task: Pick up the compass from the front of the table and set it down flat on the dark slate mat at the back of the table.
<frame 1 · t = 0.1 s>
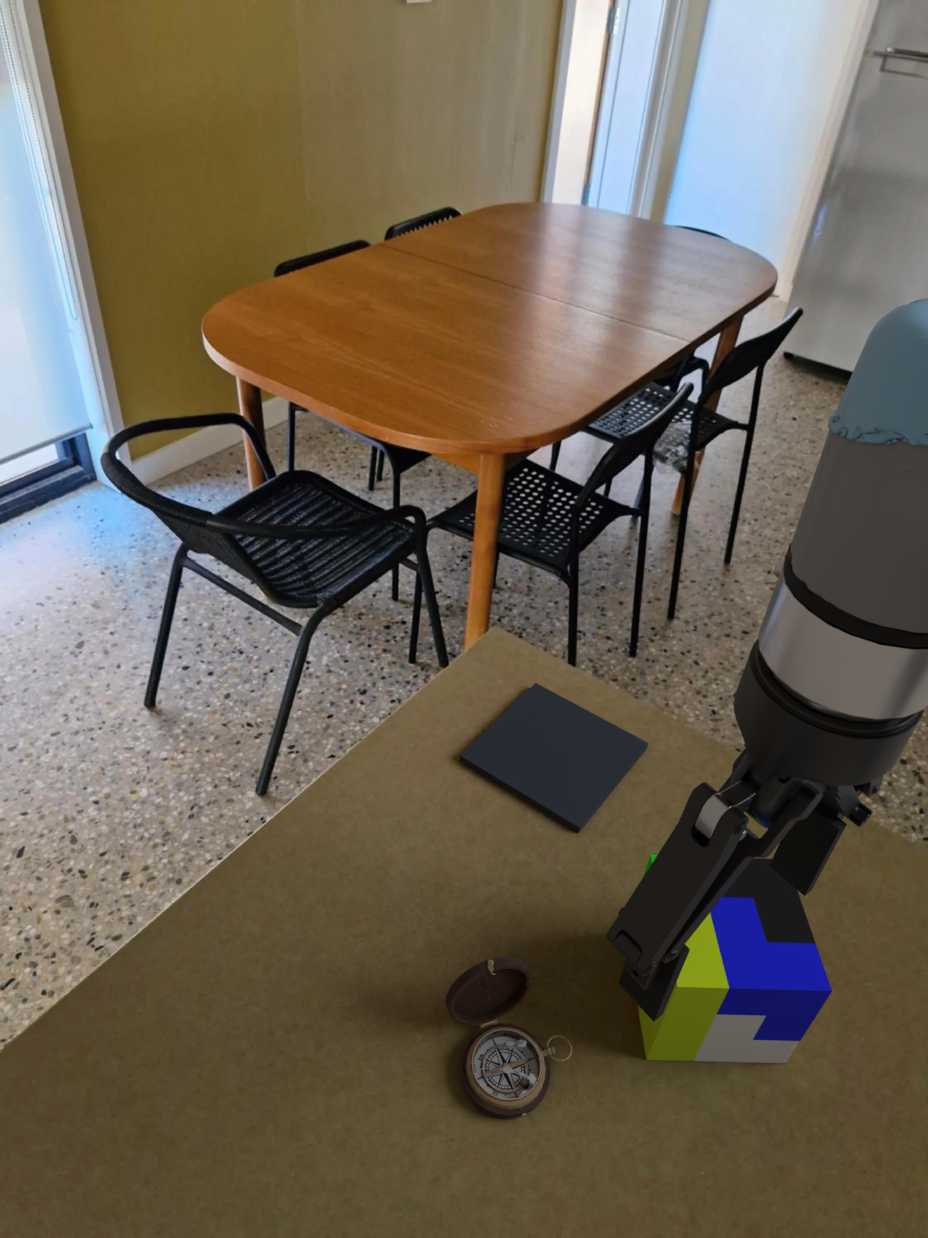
hand: (719, 934, 52), 16 cm above the counter, tool pointing down, fingers open, 13 cm apart
mat: (554, 754, 84), on the counter
compass: (512, 1059, 62), on the counter
puzzle toy: (700, 995, 67), on the counter
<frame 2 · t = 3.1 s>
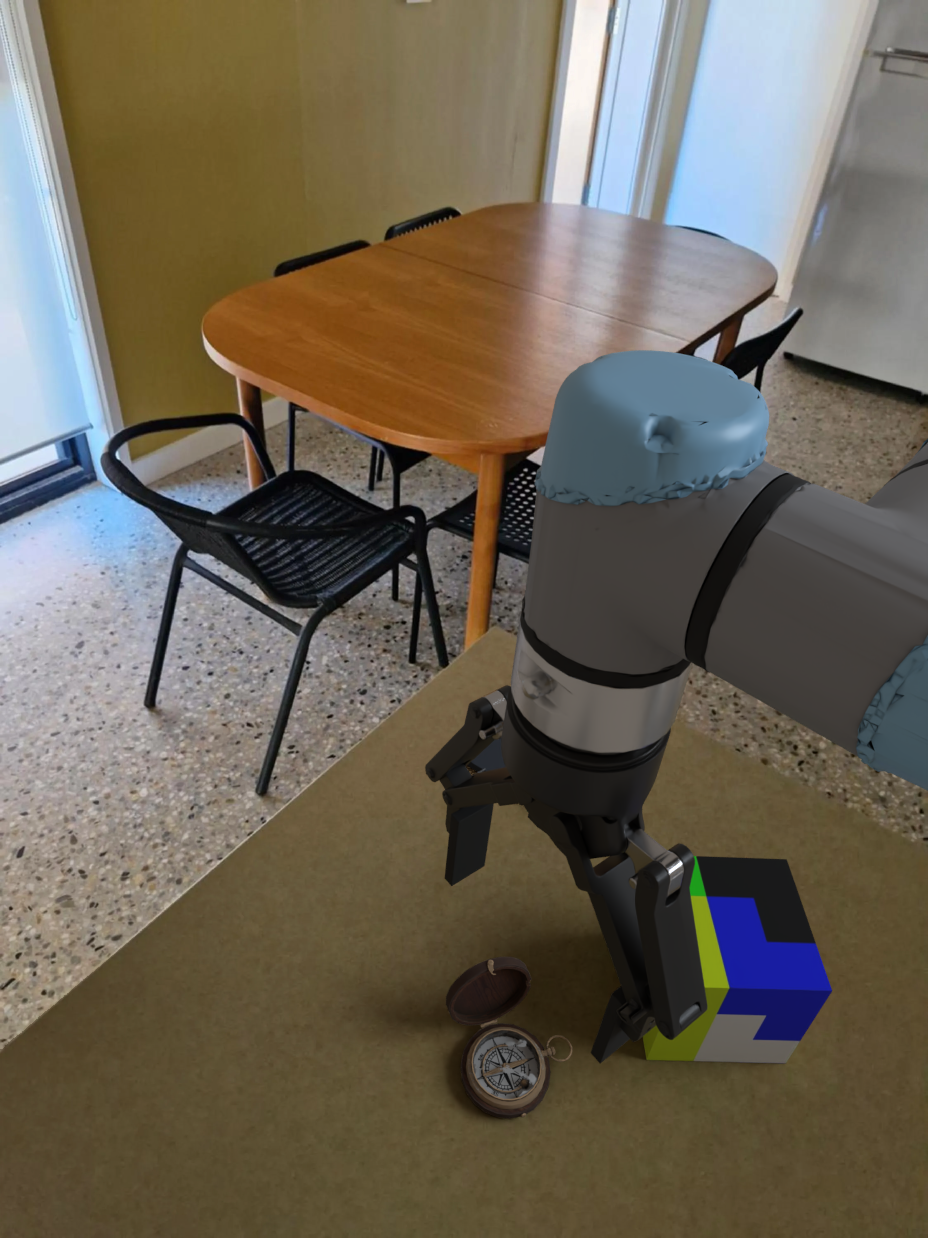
hand: (533, 952, 53), 13 cm above the counter, tool pointing down, fingers open, 13 cm apart
nothing on the counter moved.
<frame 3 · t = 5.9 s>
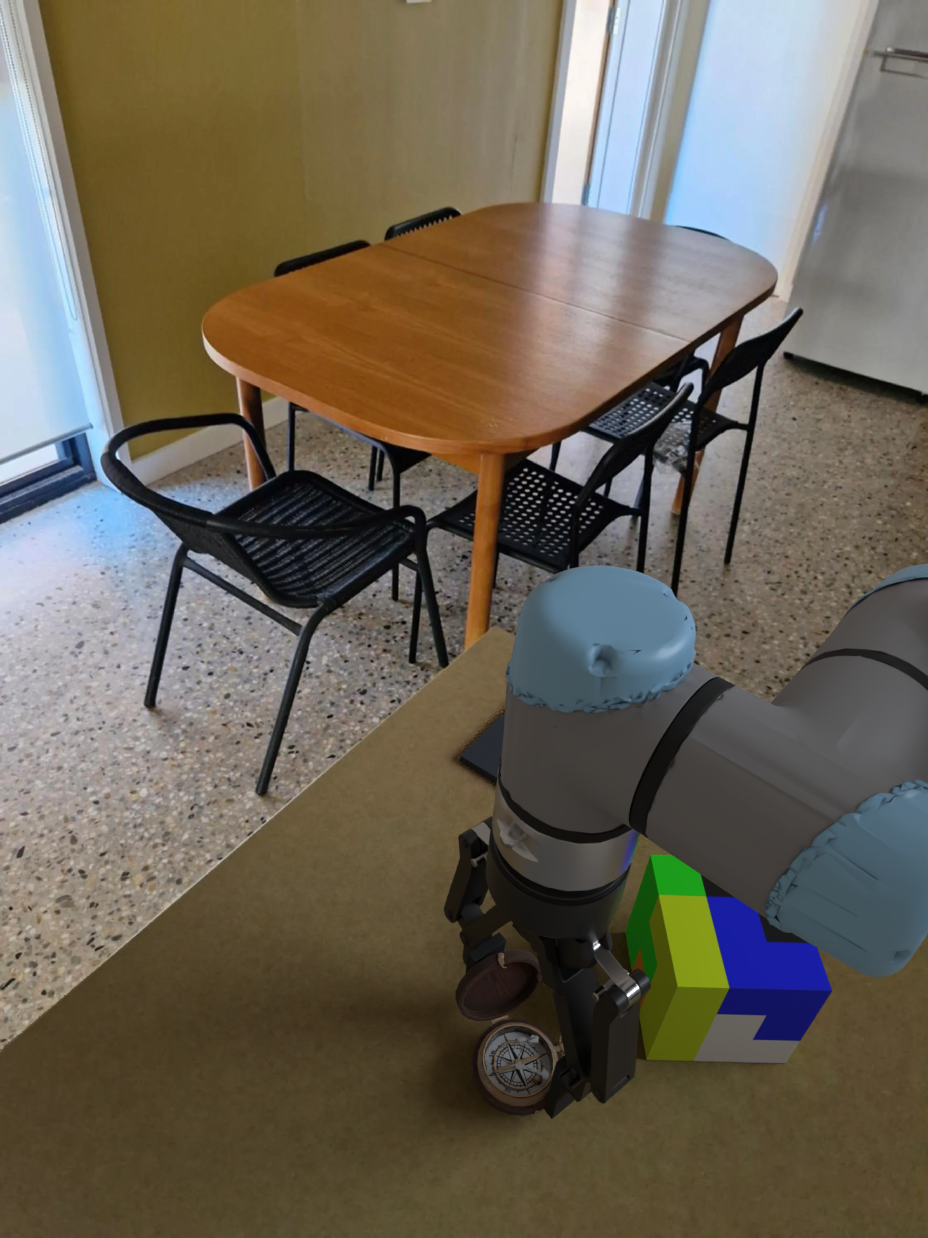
hand: (520, 1047, 60), 2 cm above the counter, tool pointing down, fingers closed on compass, 8 cm apart
compass: (524, 1055, 60), point 2 cm above the counter, touching gripper
everything else where it was.
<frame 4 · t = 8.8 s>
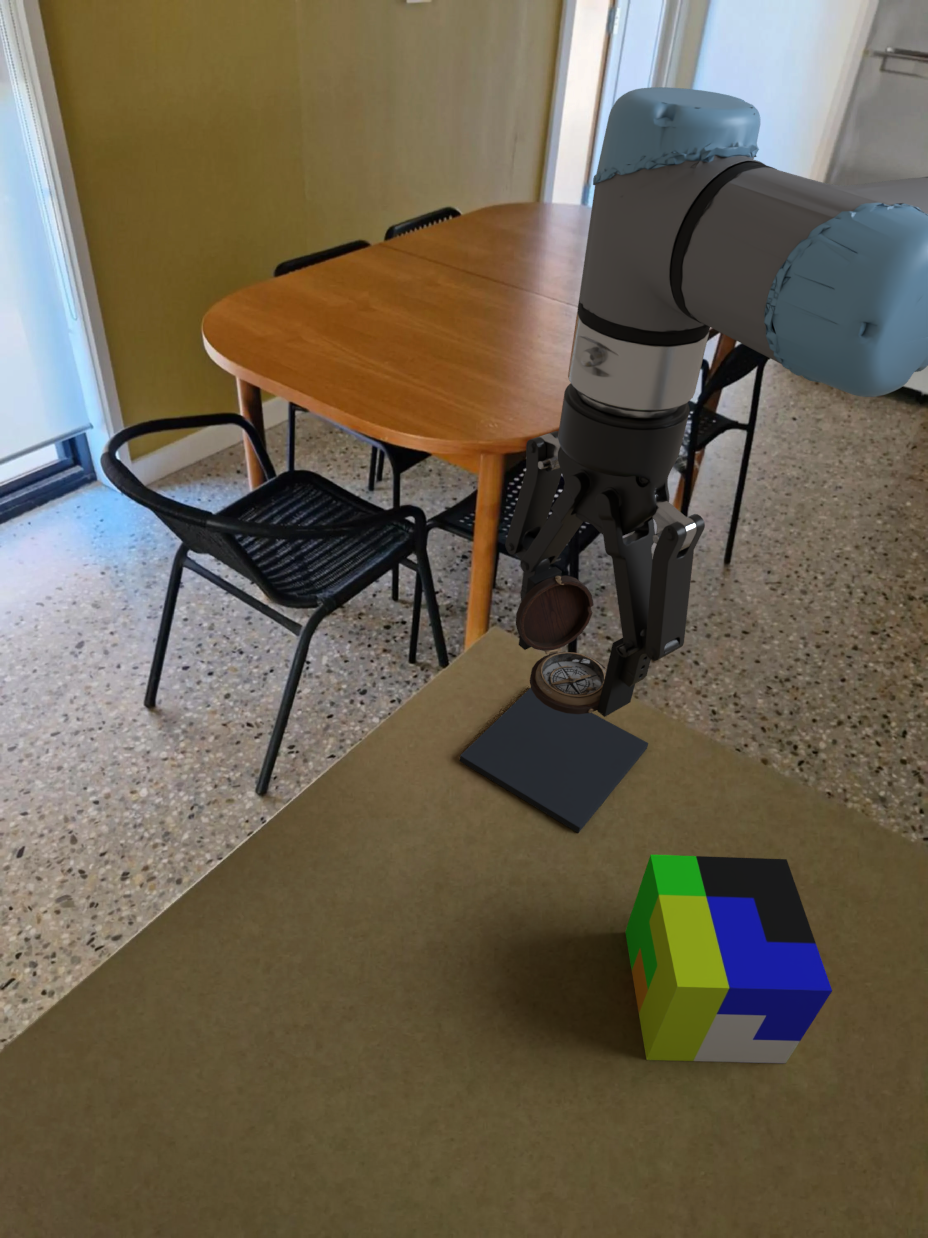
hand: (572, 672, 67), 18 cm above the counter, tool pointing down, fingers closed on compass, 8 cm apart
compass: (576, 680, 67), point 17 cm above the counter, touching gripper
everything else where it was.
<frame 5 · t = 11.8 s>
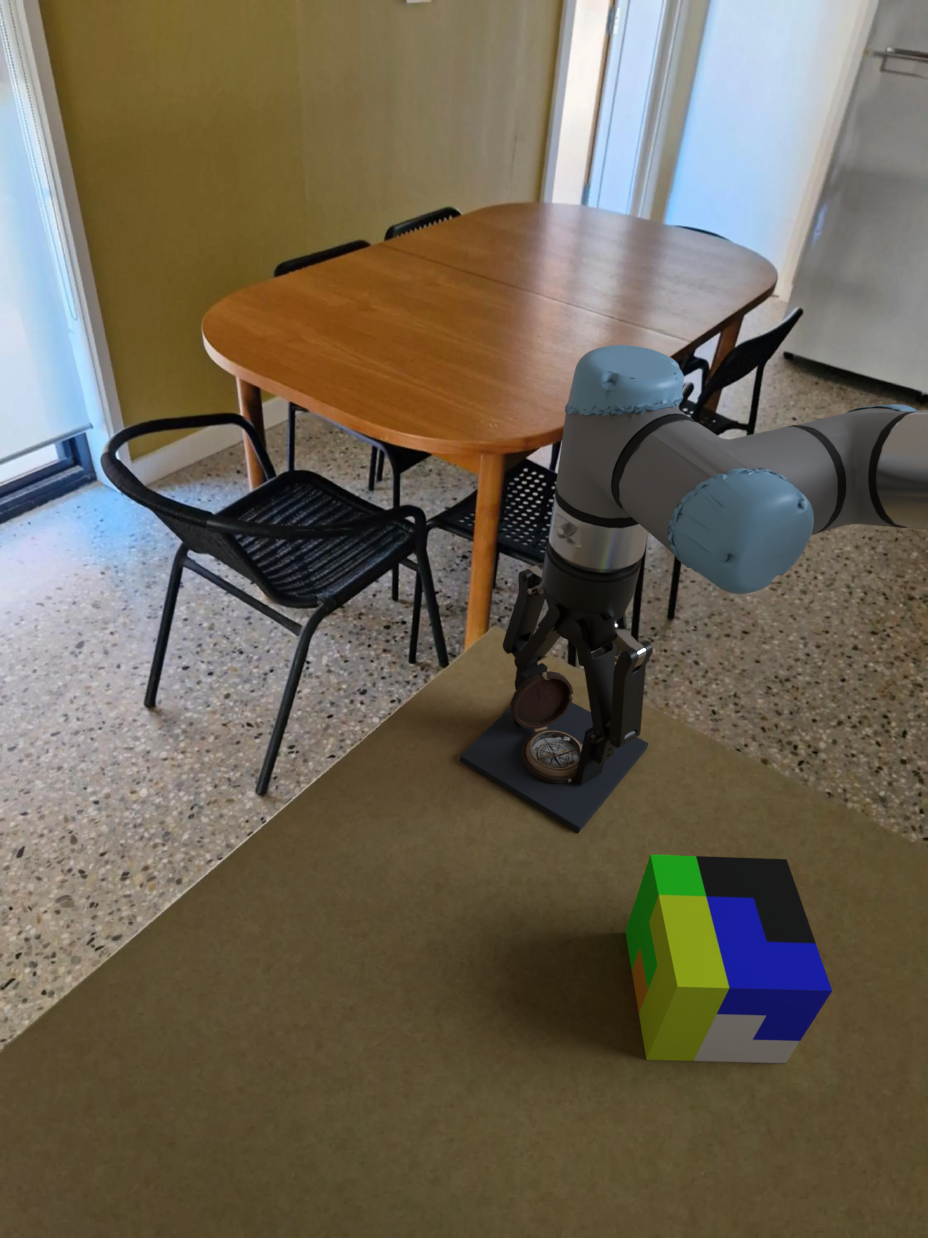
hand: (556, 747, 84), 1 cm above the counter, tool pointing down, fingers closed on compass, 8 cm apart
compass: (559, 753, 84), point 1 cm above the counter, touching gripper
everything else where it was.
when the fingers open (1 cm above the counter, at t = 15.9 s): compass stays where it is, resting on mat.
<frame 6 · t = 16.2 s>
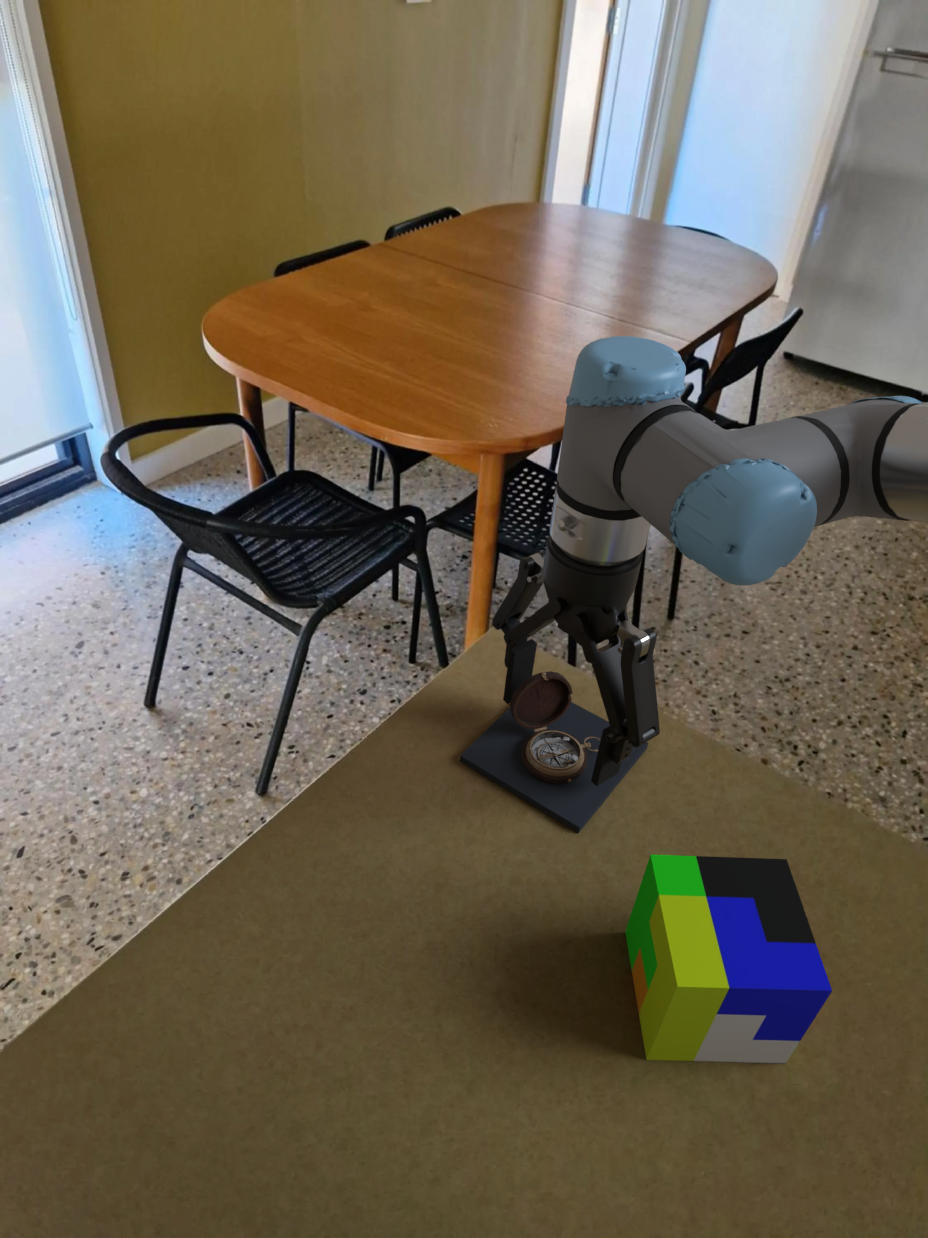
hand: (558, 735, 83), 3 cm above the counter, tool pointing down, fingers open, 12 cm apart
compass: (558, 753, 84), point 1 cm above the counter, touching mat
everything else where it was.
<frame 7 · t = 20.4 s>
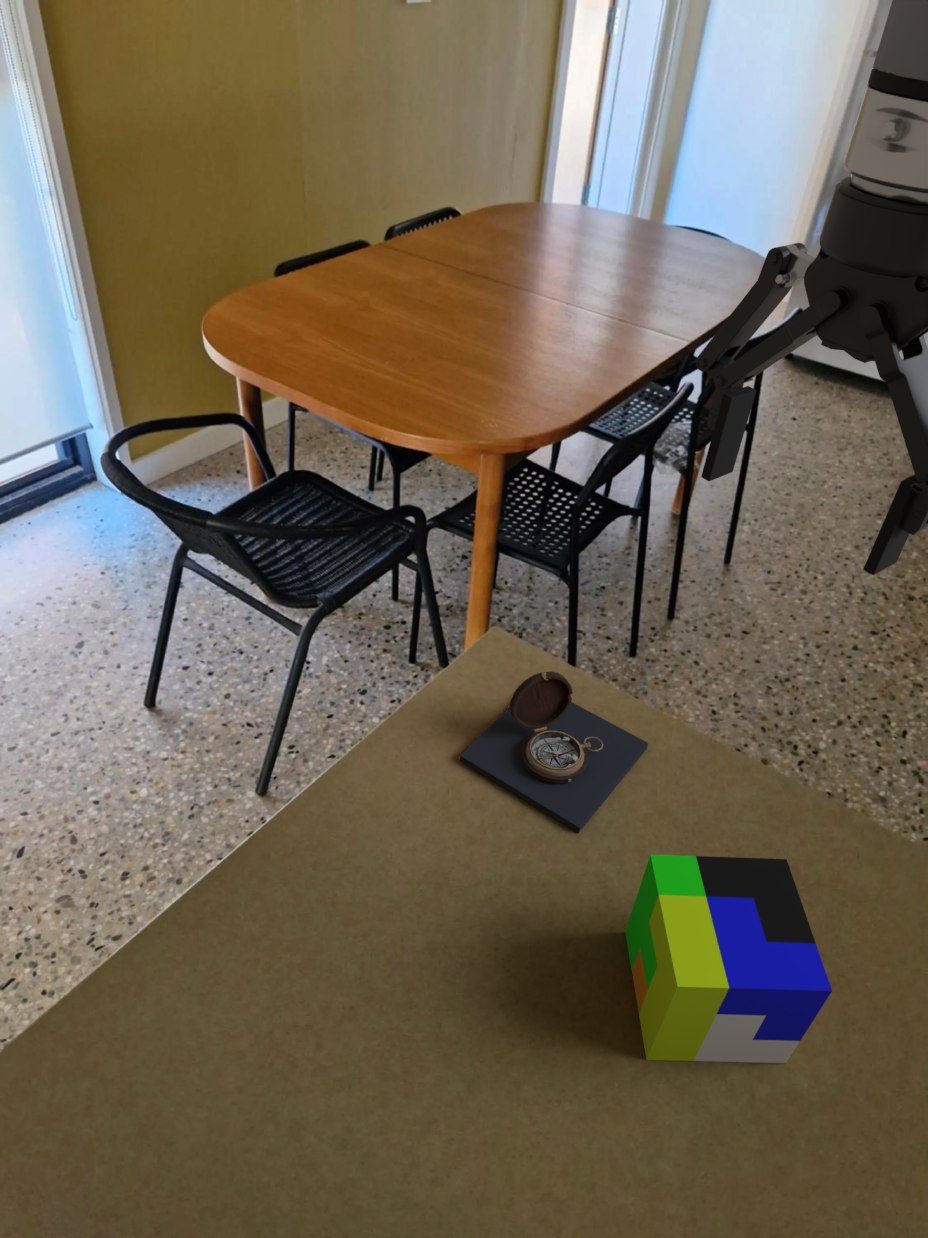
hand: (792, 517, 61), 31 cm above the counter, tool pointing down, fingers open, 13 cm apart
nothing on the counter moved.
at the end: compass inside the target area on the mat (0.5 cm from its centre), point 0.6 cm above the mat's base; compass tilted 0°; the gripper is holding nothing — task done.
